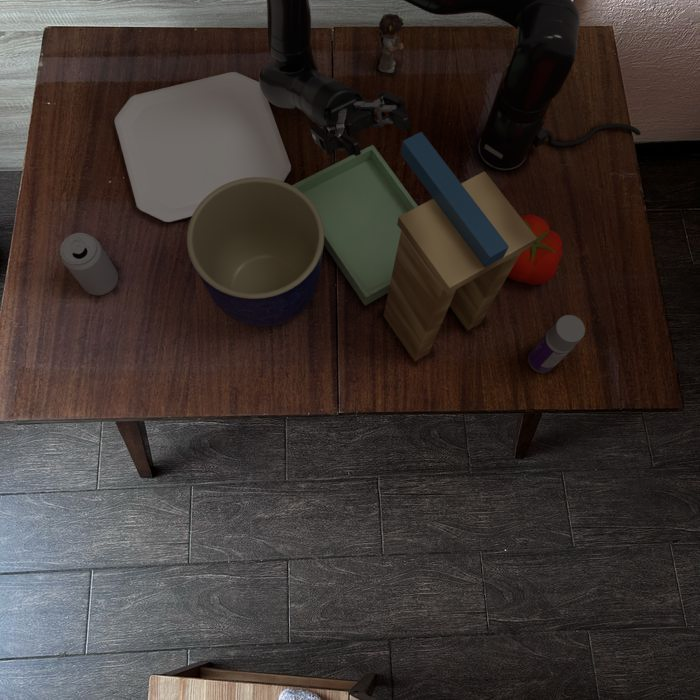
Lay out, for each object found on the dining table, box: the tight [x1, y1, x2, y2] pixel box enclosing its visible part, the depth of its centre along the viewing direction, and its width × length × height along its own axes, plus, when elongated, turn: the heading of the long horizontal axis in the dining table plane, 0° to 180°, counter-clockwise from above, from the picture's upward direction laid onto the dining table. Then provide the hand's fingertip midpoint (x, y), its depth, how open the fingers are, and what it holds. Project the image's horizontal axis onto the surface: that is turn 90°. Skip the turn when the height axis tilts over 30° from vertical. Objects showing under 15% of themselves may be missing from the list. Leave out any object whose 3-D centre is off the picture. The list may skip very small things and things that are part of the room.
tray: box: [292, 144, 419, 306], centre depth 125 cm, size 18×26×4 cm
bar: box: [400, 131, 509, 268], centre depth 91 cm, size 3×20×3 cm, turn 32°
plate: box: [114, 71, 292, 224], centre depth 130 cm, size 29×29×2 cm
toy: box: [376, 3, 406, 74], centre depth 132 cm, size 6×6×15 cm
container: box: [527, 314, 586, 374], centre depth 112 cm, size 5×5×15 cm
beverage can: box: [59, 232, 119, 296], centre depth 116 cm, size 6×6×12 cm
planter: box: [186, 177, 325, 328], centre depth 113 cm, size 21×21×19 cm
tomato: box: [507, 213, 563, 286], centre depth 122 cm, size 13×12×8 cm
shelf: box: [383, 170, 537, 362], centre depth 106 cm, size 14×12×32 cm
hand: (382, 137), depth 101 cm, fingers open, 8 cm apart
